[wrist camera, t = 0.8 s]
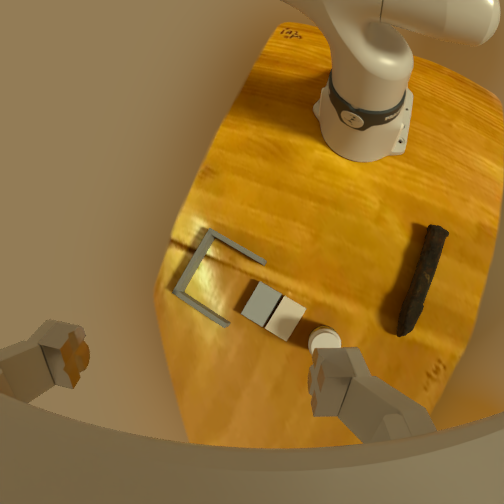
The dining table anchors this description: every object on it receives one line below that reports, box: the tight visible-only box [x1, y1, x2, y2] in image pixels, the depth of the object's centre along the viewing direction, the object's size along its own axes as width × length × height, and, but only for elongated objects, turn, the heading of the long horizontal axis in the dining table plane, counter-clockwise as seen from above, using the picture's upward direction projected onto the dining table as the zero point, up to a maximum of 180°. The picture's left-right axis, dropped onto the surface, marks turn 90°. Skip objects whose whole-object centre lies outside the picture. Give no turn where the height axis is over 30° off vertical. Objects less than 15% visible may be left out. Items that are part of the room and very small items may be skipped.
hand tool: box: [397, 225, 449, 337], centre depth 45 cm, size 19×4×5 cm, turn 153°
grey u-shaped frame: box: [172, 228, 267, 328], centre depth 52 cm, size 13×11×2 cm
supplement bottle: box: [308, 326, 341, 355], centre depth 45 cm, size 5×5×8 cm
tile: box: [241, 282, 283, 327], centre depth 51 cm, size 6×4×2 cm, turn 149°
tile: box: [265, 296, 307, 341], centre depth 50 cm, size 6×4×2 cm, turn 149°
